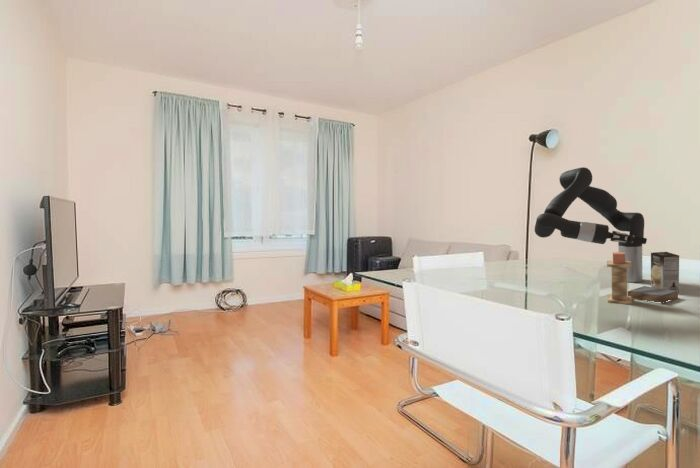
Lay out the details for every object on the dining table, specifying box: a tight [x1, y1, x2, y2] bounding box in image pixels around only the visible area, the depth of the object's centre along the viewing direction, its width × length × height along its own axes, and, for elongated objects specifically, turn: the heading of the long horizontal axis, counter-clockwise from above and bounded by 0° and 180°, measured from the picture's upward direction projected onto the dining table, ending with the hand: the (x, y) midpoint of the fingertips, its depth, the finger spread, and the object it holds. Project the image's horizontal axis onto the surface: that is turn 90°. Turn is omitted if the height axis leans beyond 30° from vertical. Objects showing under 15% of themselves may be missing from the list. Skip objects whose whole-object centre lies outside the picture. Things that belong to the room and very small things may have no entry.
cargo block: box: [612, 251, 625, 264], centre depth 150 cm, size 4×4×4 cm
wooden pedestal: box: [606, 260, 633, 305], centre depth 151 cm, size 8×8×16 cm
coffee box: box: [650, 251, 680, 293], centre depth 160 cm, size 9×6×16 cm
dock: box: [627, 285, 679, 303], centre depth 151 cm, size 12×12×3 cm
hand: (642, 240), depth 135 cm, fingers open, 8 cm apart
